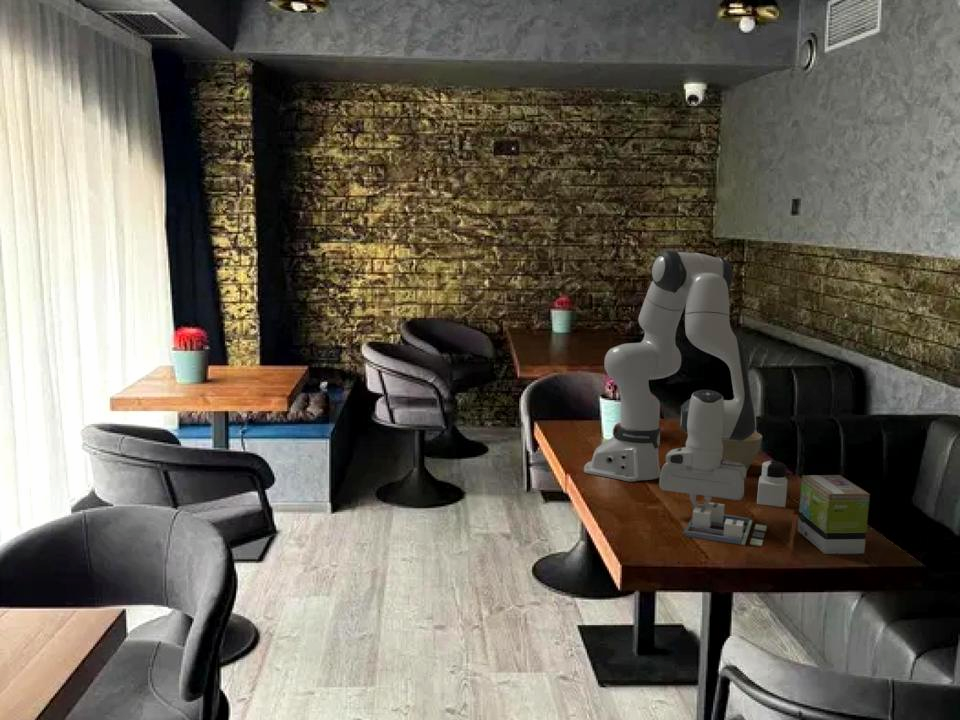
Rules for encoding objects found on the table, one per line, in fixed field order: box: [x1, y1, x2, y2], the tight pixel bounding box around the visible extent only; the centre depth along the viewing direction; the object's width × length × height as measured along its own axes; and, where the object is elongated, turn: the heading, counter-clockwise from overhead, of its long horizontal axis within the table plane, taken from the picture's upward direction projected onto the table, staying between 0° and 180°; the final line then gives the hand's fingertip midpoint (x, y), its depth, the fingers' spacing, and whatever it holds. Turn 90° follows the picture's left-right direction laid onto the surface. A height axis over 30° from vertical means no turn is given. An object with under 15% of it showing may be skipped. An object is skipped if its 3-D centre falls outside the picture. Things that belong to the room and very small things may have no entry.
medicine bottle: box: [756, 460, 788, 508], centre depth 243 cm, size 7×7×12 cm
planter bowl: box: [721, 431, 763, 471], centre depth 279 cm, size 16×16×11 cm
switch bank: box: [682, 514, 768, 547], centre depth 220 cm, size 23×18×2 cm
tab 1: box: [706, 501, 726, 523], centre depth 226 cm, size 4×4×4 cm
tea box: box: [797, 474, 871, 555], centre depth 216 cm, size 15×10×15 cm
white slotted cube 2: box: [691, 507, 712, 528], centre depth 221 cm, size 4×4×4 cm
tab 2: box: [722, 519, 745, 540], centre depth 213 cm, size 4×4×4 cm
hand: (699, 511), depth 227 cm, fingers closed
